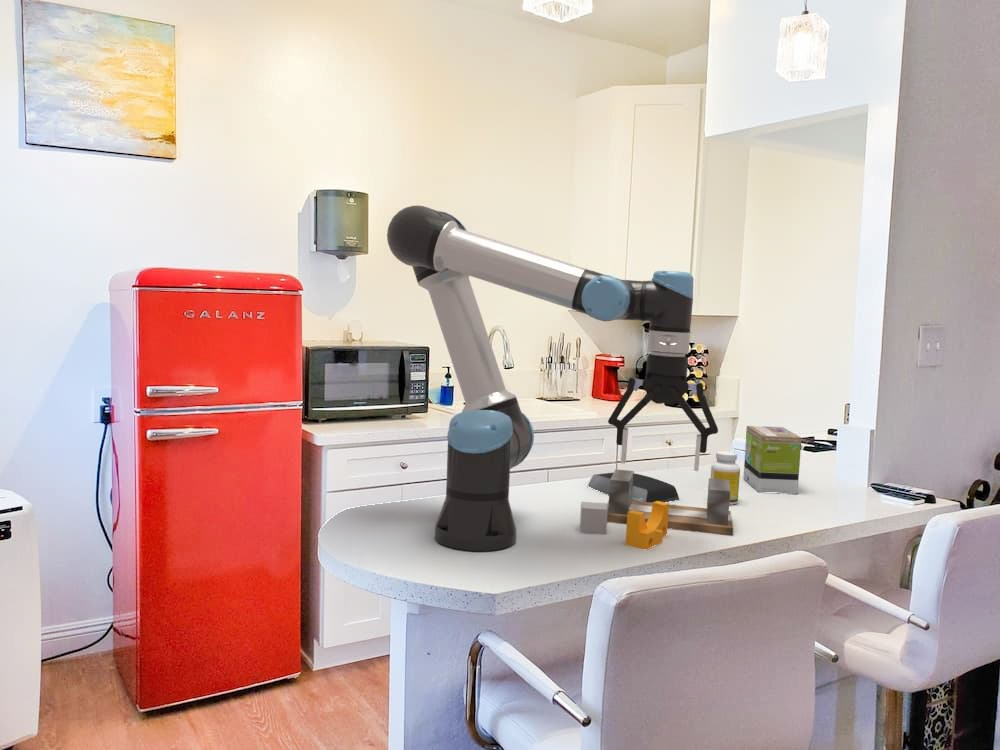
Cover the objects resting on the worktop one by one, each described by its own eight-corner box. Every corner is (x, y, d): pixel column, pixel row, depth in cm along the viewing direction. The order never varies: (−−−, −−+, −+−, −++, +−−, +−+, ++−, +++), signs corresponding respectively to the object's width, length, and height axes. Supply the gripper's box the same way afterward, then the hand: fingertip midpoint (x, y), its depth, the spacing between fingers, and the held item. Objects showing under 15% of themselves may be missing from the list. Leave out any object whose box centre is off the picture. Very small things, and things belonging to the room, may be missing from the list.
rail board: (602, 521, 164) (604, 480, 163) (609, 504, 178) (611, 467, 177) (732, 535, 158) (735, 493, 157) (729, 517, 172) (732, 479, 171)
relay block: (580, 533, 155) (581, 508, 155) (579, 526, 160) (581, 501, 160) (606, 534, 155) (607, 509, 155) (604, 527, 160) (606, 503, 160)
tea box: (741, 479, 211) (745, 424, 210) (779, 481, 211) (784, 426, 210) (757, 493, 196) (762, 434, 195) (798, 495, 196) (803, 436, 195)
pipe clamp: (646, 550, 146) (648, 516, 146) (625, 545, 149) (627, 511, 148) (675, 537, 156) (677, 505, 155) (655, 532, 158) (657, 500, 158)
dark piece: (642, 508, 178) (643, 490, 178) (584, 489, 194) (585, 472, 193) (681, 502, 186) (682, 485, 185) (623, 484, 201) (624, 468, 201)
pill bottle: (739, 506, 182) (743, 456, 181) (710, 504, 183) (714, 454, 182) (735, 499, 188) (739, 451, 187) (707, 497, 189) (711, 449, 188)
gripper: (598, 350, 148) (591, 462, 150) (738, 360, 142) (728, 476, 144) (603, 348, 155) (596, 455, 157) (736, 357, 149) (726, 468, 151)
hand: (659, 466), depth 151 cm, fingers open, 13 cm apart
